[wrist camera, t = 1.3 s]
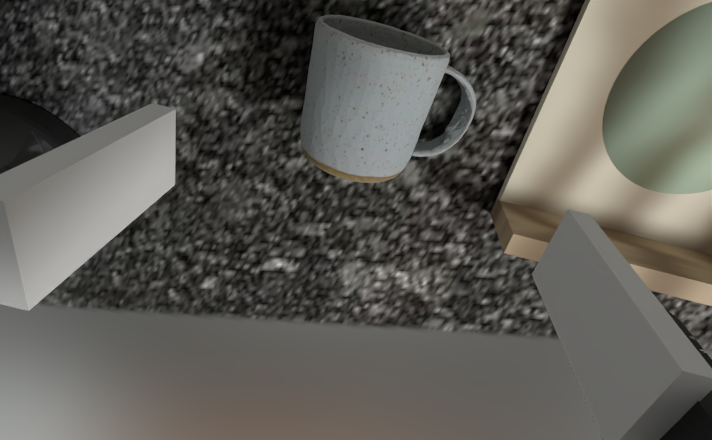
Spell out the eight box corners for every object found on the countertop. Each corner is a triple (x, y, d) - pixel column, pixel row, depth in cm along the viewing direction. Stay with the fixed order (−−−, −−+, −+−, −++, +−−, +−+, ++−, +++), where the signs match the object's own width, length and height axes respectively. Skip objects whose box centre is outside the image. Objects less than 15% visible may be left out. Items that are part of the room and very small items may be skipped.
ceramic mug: (307, 131, 31) (281, 173, 24) (329, 9, 26) (305, 18, 20) (448, 167, 31) (461, 218, 24) (491, 51, 27) (520, 74, 20)
